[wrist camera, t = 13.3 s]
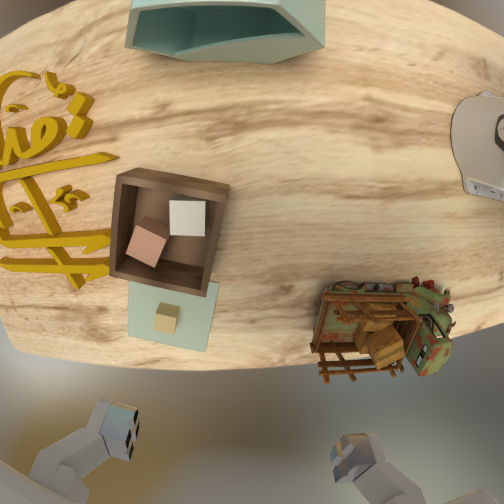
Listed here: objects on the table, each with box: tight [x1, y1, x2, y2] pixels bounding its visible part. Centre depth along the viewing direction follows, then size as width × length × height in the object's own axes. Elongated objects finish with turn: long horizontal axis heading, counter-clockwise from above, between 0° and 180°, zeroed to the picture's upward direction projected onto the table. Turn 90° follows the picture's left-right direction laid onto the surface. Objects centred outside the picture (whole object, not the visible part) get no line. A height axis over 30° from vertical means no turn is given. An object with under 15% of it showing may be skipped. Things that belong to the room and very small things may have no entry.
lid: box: [128, 280, 220, 352], centre depth 41 cm, size 13×13×4 cm
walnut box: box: [109, 168, 229, 298], centre depth 34 cm, size 12×12×7 cm
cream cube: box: [169, 194, 209, 236], centre depth 34 cm, size 4×4×4 cm
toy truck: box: [310, 276, 456, 384], centre depth 36 cm, size 11×25×15 cm, turn 84°
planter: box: [125, 0, 325, 64], centre depth 20 cm, size 17×8×21 cm
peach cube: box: [126, 216, 171, 268], centre depth 35 cm, size 4×4×4 cm
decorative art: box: [0, 71, 119, 289], centre depth 32 cm, size 34×3×30 cm
